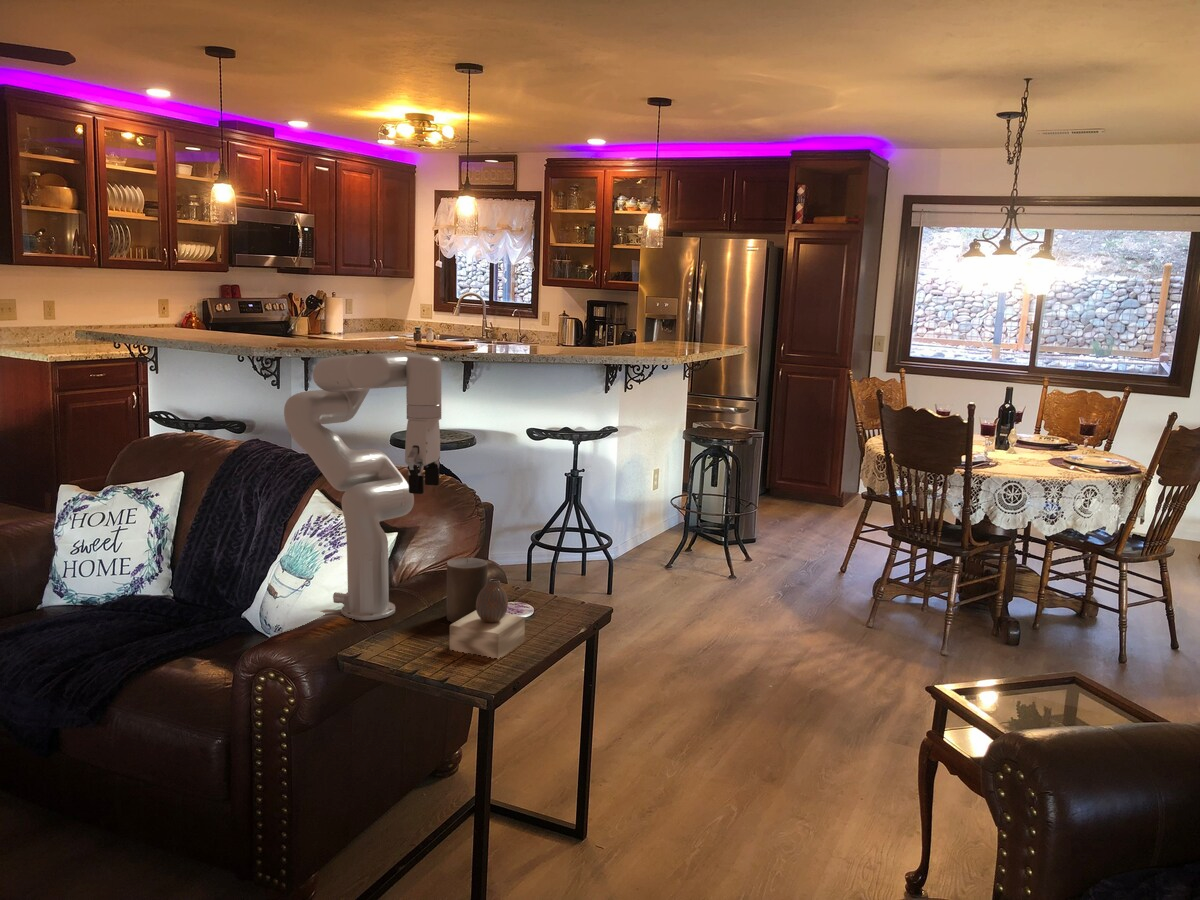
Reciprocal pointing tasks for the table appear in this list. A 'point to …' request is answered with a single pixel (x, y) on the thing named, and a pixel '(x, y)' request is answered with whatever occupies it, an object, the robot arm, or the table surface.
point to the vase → (492, 602)
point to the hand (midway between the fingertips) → (424, 489)
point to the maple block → (487, 635)
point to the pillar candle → (464, 586)
